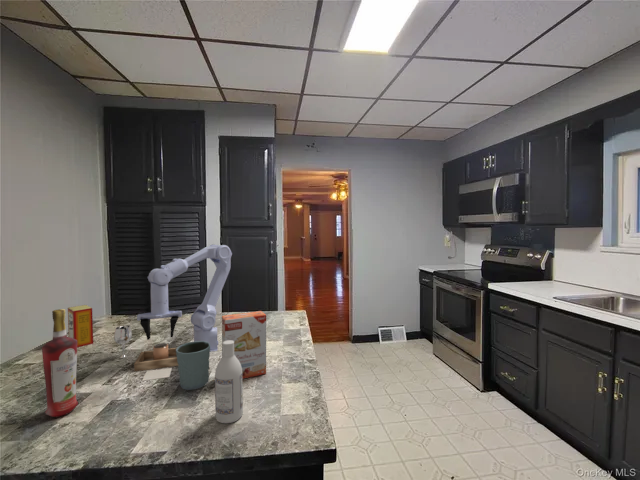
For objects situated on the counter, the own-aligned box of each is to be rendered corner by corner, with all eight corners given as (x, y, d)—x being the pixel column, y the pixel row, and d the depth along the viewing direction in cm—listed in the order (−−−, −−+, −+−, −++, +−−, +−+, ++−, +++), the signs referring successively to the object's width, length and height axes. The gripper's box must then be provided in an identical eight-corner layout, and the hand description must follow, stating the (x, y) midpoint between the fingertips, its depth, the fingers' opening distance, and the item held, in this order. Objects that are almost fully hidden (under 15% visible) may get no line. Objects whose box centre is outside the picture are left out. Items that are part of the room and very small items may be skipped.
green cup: (217, 378, 102) (216, 342, 102) (195, 393, 92) (194, 354, 92) (192, 373, 105) (192, 339, 105) (169, 388, 96) (168, 350, 95)
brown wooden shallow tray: (184, 354, 121) (184, 346, 121) (181, 366, 111) (181, 357, 111) (141, 360, 116) (141, 351, 116) (134, 372, 106) (134, 363, 106)
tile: (172, 369, 108) (171, 367, 108) (169, 378, 102) (169, 376, 102) (146, 372, 106) (146, 371, 106) (142, 382, 99) (141, 380, 99)
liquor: (69, 402, 88) (66, 305, 87) (85, 407, 85) (82, 308, 84) (38, 416, 81) (34, 312, 80) (54, 423, 79) (50, 315, 78)
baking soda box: (68, 342, 134) (67, 306, 134) (86, 338, 139) (85, 304, 139) (74, 348, 128) (73, 310, 128) (93, 343, 133) (92, 307, 133)
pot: (169, 358, 117) (169, 342, 117) (167, 363, 112) (167, 346, 112) (154, 360, 115) (154, 343, 115) (152, 365, 110) (151, 348, 110)
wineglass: (123, 361, 115) (122, 330, 115) (110, 360, 116) (110, 329, 116) (135, 355, 121) (135, 325, 120) (123, 354, 122) (122, 324, 121)
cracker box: (225, 384, 98) (224, 319, 97) (221, 376, 104) (220, 315, 103) (267, 374, 105) (266, 314, 104) (262, 367, 110) (261, 309, 109)
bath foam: (233, 405, 86) (232, 335, 86) (248, 415, 82) (247, 341, 81) (210, 417, 81) (209, 342, 80) (225, 428, 76) (224, 349, 76)
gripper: (134, 305, 107) (135, 343, 107) (180, 302, 111) (180, 338, 112) (139, 300, 113) (140, 337, 114) (182, 297, 118) (182, 332, 119)
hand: (160, 337), depth 113 cm, fingers open, 7 cm apart
